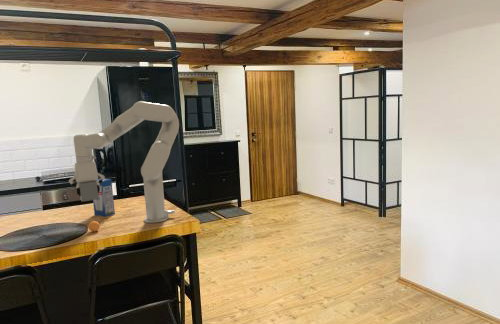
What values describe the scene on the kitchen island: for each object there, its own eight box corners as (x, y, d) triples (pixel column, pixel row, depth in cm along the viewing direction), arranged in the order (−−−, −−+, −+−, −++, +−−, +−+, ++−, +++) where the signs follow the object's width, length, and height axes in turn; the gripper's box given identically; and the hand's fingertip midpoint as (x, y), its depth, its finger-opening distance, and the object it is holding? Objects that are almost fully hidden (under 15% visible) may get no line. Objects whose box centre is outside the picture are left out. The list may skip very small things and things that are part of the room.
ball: (99, 229, 178) (98, 219, 178) (100, 231, 174) (99, 221, 173) (88, 231, 176) (87, 221, 175) (89, 233, 172) (88, 223, 171)
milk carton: (115, 214, 206) (111, 179, 203) (105, 217, 201) (101, 181, 198) (104, 212, 211) (100, 178, 209) (94, 215, 206) (90, 180, 204)
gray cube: (96, 196, 187) (94, 179, 186) (98, 199, 180) (96, 181, 179) (80, 198, 184) (78, 181, 182) (81, 201, 177) (79, 183, 176)
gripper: (102, 157, 187) (106, 190, 189) (64, 160, 178) (69, 195, 181) (104, 158, 180) (108, 192, 182) (65, 162, 172) (70, 198, 174)
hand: (88, 194), depth 182 cm, fingers closed on gray cube, 7 cm apart
